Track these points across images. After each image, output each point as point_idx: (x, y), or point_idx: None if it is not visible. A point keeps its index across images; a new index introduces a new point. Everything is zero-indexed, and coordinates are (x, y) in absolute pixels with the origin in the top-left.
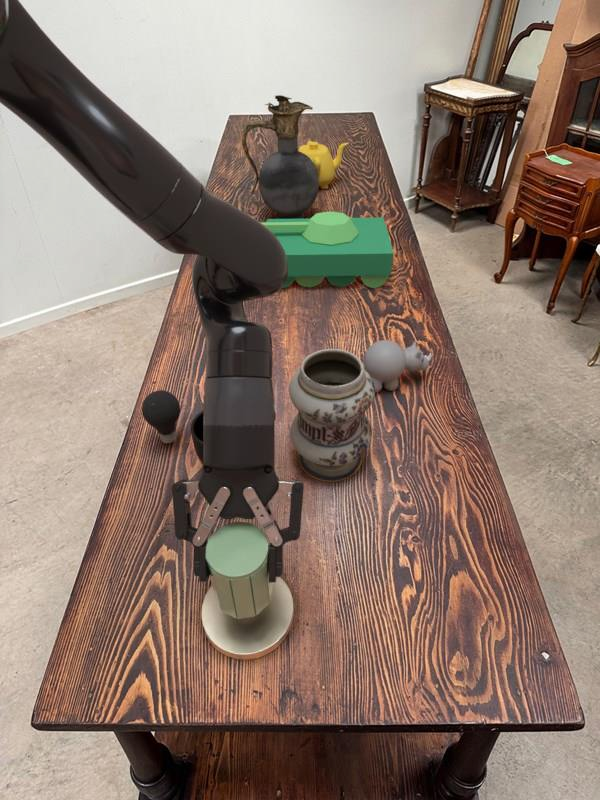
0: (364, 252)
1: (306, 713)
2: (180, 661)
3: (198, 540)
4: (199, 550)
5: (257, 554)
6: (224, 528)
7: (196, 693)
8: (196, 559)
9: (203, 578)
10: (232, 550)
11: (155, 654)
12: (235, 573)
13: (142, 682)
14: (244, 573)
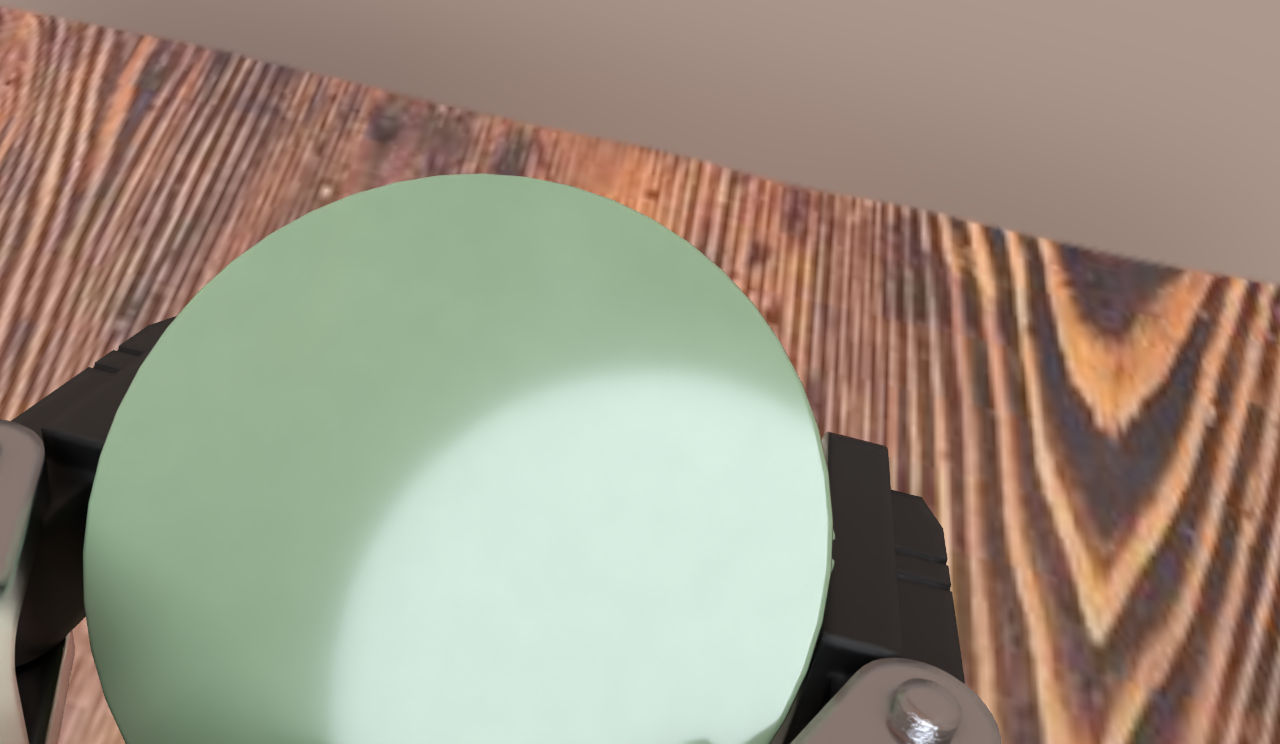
0: None
1: (426, 118)
2: (933, 440)
3: (923, 707)
4: (899, 629)
5: (250, 368)
6: None
7: (863, 289)
8: (921, 598)
9: (849, 444)
10: (516, 490)
11: (1056, 503)
12: (536, 209)
13: (1107, 390)
14: (444, 189)
